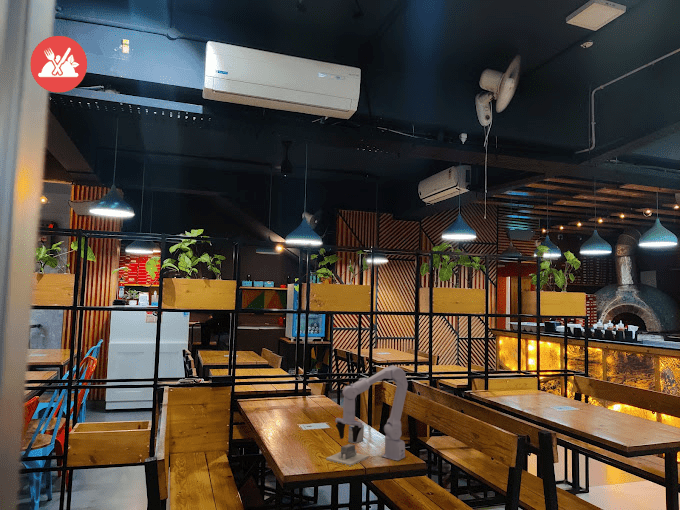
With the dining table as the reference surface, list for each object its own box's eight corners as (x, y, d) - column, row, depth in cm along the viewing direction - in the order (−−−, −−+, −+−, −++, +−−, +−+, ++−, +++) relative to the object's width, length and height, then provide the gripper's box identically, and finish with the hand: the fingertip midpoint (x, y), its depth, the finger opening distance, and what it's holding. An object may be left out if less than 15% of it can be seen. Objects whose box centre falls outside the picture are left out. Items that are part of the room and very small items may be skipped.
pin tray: (368, 457, 244) (368, 450, 245) (350, 466, 231) (350, 458, 232) (345, 452, 253) (345, 444, 253) (326, 460, 239) (326, 452, 240)
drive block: (354, 455, 244) (355, 444, 244) (346, 459, 238) (347, 448, 239) (349, 454, 246) (349, 443, 246) (340, 457, 240) (341, 446, 241)
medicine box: (357, 439, 276) (357, 423, 277) (363, 440, 273) (363, 424, 274) (348, 442, 270) (348, 425, 270) (354, 444, 267) (355, 427, 268)
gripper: (332, 410, 245) (331, 438, 244) (357, 415, 236) (356, 444, 235) (340, 408, 250) (339, 435, 249) (364, 412, 242) (364, 441, 241)
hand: (348, 440), depth 243 cm, fingers open, 7 cm apart
